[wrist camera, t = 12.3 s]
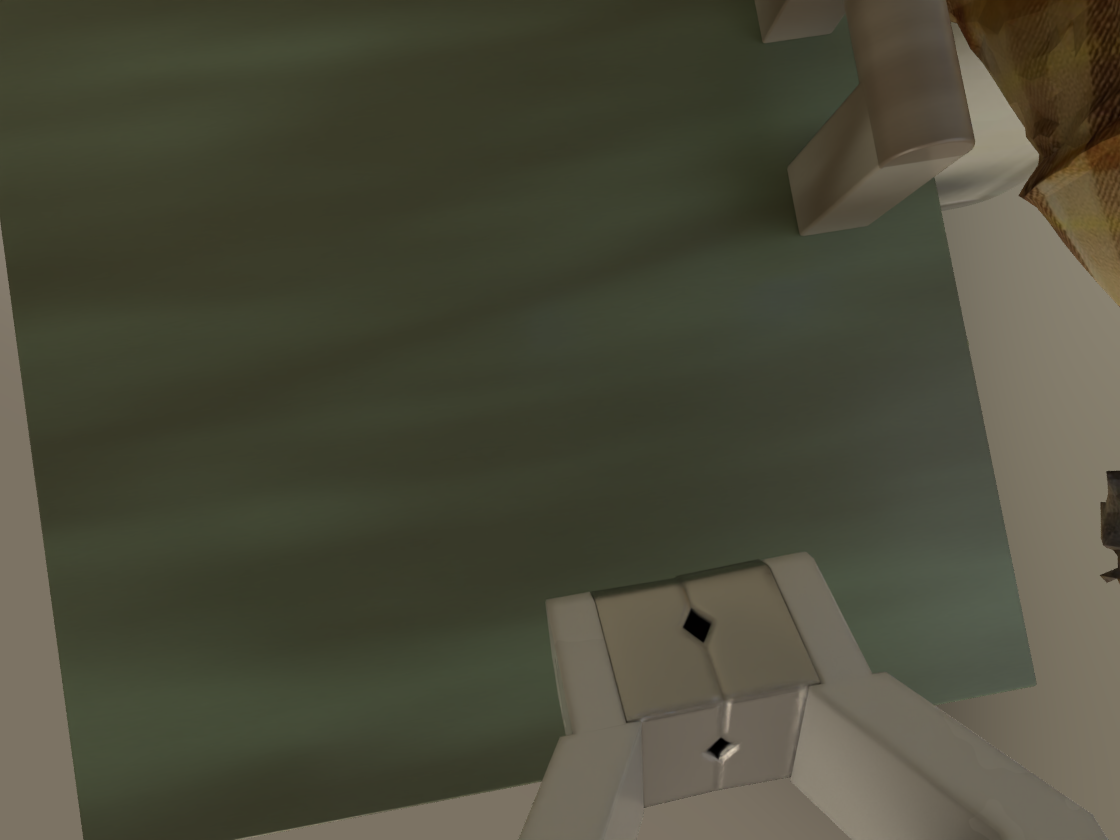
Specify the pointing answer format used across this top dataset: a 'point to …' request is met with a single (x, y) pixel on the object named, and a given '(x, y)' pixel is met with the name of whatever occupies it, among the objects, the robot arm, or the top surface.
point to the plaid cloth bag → (1064, 132)
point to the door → (471, 369)
